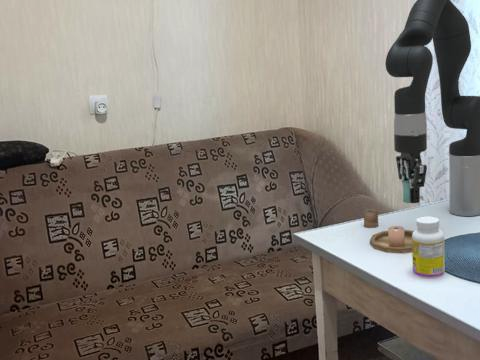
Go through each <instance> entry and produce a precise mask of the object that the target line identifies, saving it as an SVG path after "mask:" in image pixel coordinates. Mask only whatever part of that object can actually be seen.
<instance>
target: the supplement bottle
mask: <svg viewBox="0 0 480 360" xmlns="http://www.w3.org/2000/svg"><path fill="white" fill-rule="evenodd" d="M415 223H416V225H415V226H416V227H417V229H415V230H413V231H414V232H413V234H412V257H411V258H412V273H413V275H414V276H416V277H419V278H422V279H438V278H440V277H442V276H444V275H445V273H446V271H445V270H446V269H445V268H446V267H445V262H446V261H445V233H444V232H443V231H442V230H441V229H440V228H439V227H440V219H439V218H438V217H435V216H421V217H418V218H417V219H416V221H415Z"/></svg>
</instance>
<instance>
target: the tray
mask: <svg viewBox="0 0 480 360" xmlns="http://www.w3.org/2000/svg"><path fill="white" fill-rule="evenodd" d="M414 231H415V230H410V229H409V230H408V229H407V230H406V229H404V236H405V247H402V248H401V247H389V240H388V230H382V231H380V232H377V233H374V234H372V235H371V237H370V239H369V244H370V246H371V248H373V249H375V250H377V251H379V252H383V253H387V254H388V253H389V254H411V253H412V234H413V232H414Z"/></svg>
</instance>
